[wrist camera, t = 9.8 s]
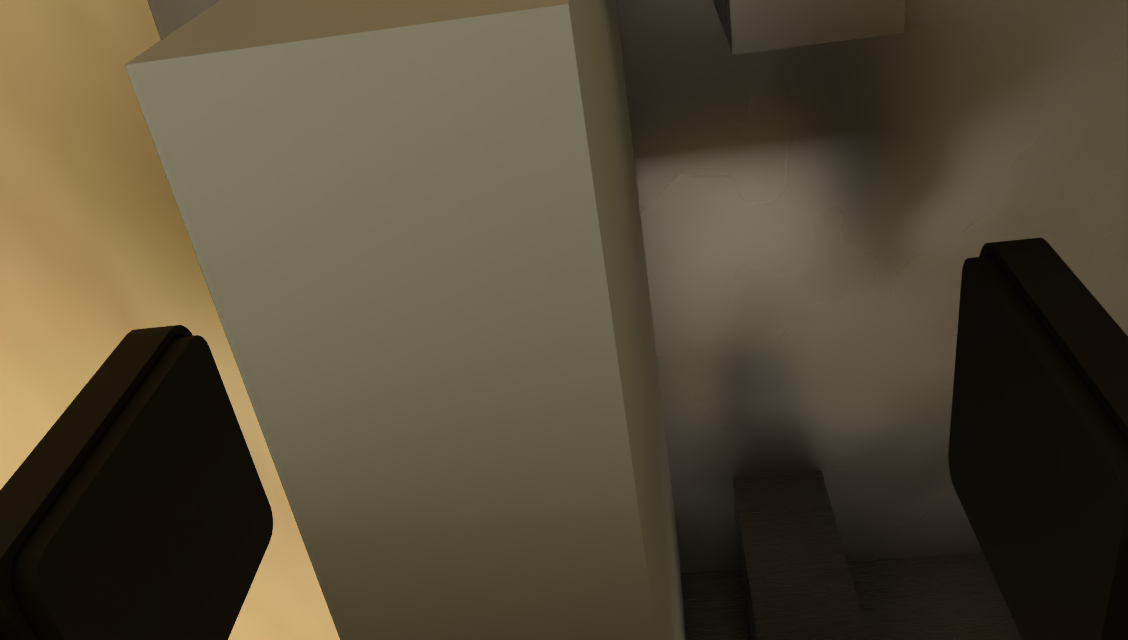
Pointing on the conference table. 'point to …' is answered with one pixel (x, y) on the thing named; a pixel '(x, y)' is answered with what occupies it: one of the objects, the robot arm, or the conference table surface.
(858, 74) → the rack
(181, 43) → the panel
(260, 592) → the conference table surface
